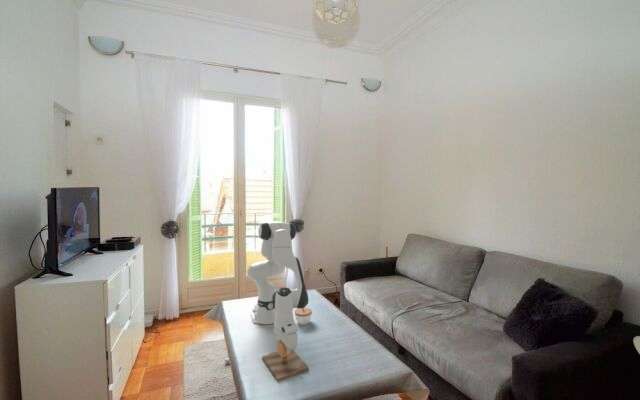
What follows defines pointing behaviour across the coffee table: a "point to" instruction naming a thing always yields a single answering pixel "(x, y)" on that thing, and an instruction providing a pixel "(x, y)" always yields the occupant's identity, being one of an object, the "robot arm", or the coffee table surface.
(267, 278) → the robot arm
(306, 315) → the lidded jar
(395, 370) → the coffee table surface
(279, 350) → the wooden toy cube
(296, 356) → the post block
